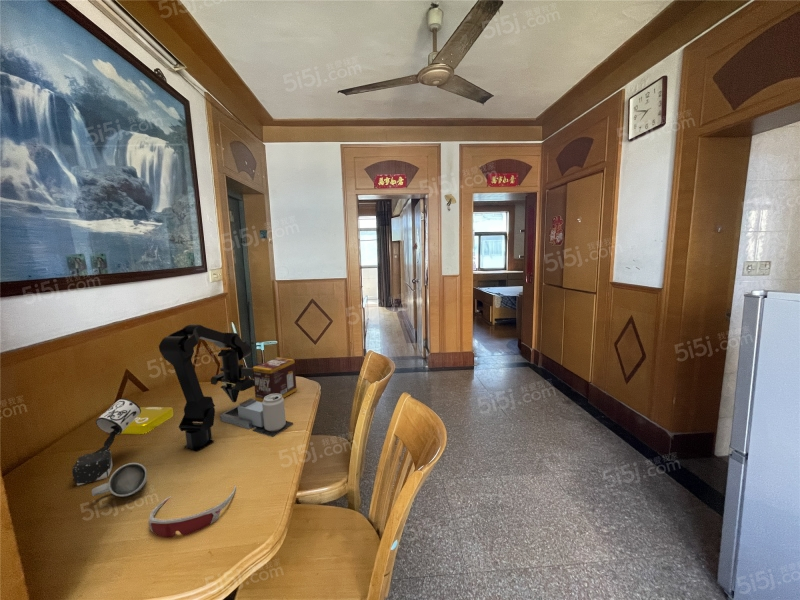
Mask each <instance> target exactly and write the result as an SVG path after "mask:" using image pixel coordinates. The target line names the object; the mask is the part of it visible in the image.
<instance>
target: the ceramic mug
mask: <svg viewBox="0 0 800 600" xmlns="http://www.w3.org/2000/svg"><path fill="white" fill-rule="evenodd" d="M147 475H148V471H147V468H146V466H144V465H143V464H141V463H139V462H129V463H126V464H124V465H121V466H119V467H118V468H117V469H116V470H114V472H113V473H112V474H111V476H109V477H110V478H109V480H108V482H105V483H103V484H100V485H98V486H96V487H93V488H92V489H91V496H92V497H94V496H99V495H103V494H106V493H111V494H112V495H113V496H116V497H122V498H123V497H129V496H132V495H134V494H136V493H137V492H139V491H140V490H142V489H143V487H144V486H145V484H146V483H147V479H148V476H147Z"/></svg>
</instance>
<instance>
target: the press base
mask: <svg viewBox="0 0 800 600" xmlns="http://www.w3.org/2000/svg"><path fill="white" fill-rule="evenodd" d="M238 406H239V404H238V405H236V406H234V407H231V408H230V409H228V410H226V411H224V412H222V413H220V414H219V418H220V421H221V422H223V423H225V424H226V423H227V424H230V425H233V426H237V427H240V428H244V429H246V430H251V429H252V432H254V433H257V434H262V435H265V436H268V437H271V438H274V437H275V436H277V435H279V434H280V433H282V432H284V431H285V430H286V429H289V427H292V426H293V425H294V423H293V422H291V421H288V420H286V424H285V425H284V426H283V428H281V429H280V430H277V431H268V430H266V429H265V428H264V426H263V427H258V426H255V425H252V421H249V420H246V419H242V418H239V416H238Z"/></svg>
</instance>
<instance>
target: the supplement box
mask: <svg viewBox="0 0 800 600" xmlns="http://www.w3.org/2000/svg"><path fill="white" fill-rule="evenodd" d="M295 363H296V362H295V359H292V358H286V357H279V356H278V357H277V356H276V357H275V358H273V359H269V360H268V361H267V360H266V361H265V362H262V363H260V364H258V365H255V366H253V367H252V369H253V372H252V376H253V380H255V386H254V395H255V400H256V401H258V402H263V400H264V397H265V396H267V395H270V394H275V393H277V394H281V395H282V397H283V398H284V399H285V398H286V397H288V396H290V395H291V394H293V393H296V391H297V379H296V378H297V377H296V367H295V366H296V364H295Z"/></svg>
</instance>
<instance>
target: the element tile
mask: <svg viewBox="0 0 800 600" xmlns="http://www.w3.org/2000/svg"><path fill="white" fill-rule="evenodd" d="M139 407H140V409H141V413H140V414H139V415H138V416H137V417H136V418H135V419H134V420H133V421H132V422H131V423H130V424H129V425H128V426H127V427H126V428H125V429H124V430H123V431H122V432H121V433H120V434H119V435H145V434H147V432H148V433H150V432H152V431H153V430H155V429H156V428H155V427H157V428H158V426H160V425H162V423H164V422H166V421H168V420H169V419H171V418H173V416H174V410H173V409H174V408H173V407H170V406H164V407H163V406H139ZM154 428H155V429H154ZM152 429H153V430H152ZM151 430H152V431H151ZM149 431H150V432H149ZM144 433H145V434H144Z"/></svg>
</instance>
